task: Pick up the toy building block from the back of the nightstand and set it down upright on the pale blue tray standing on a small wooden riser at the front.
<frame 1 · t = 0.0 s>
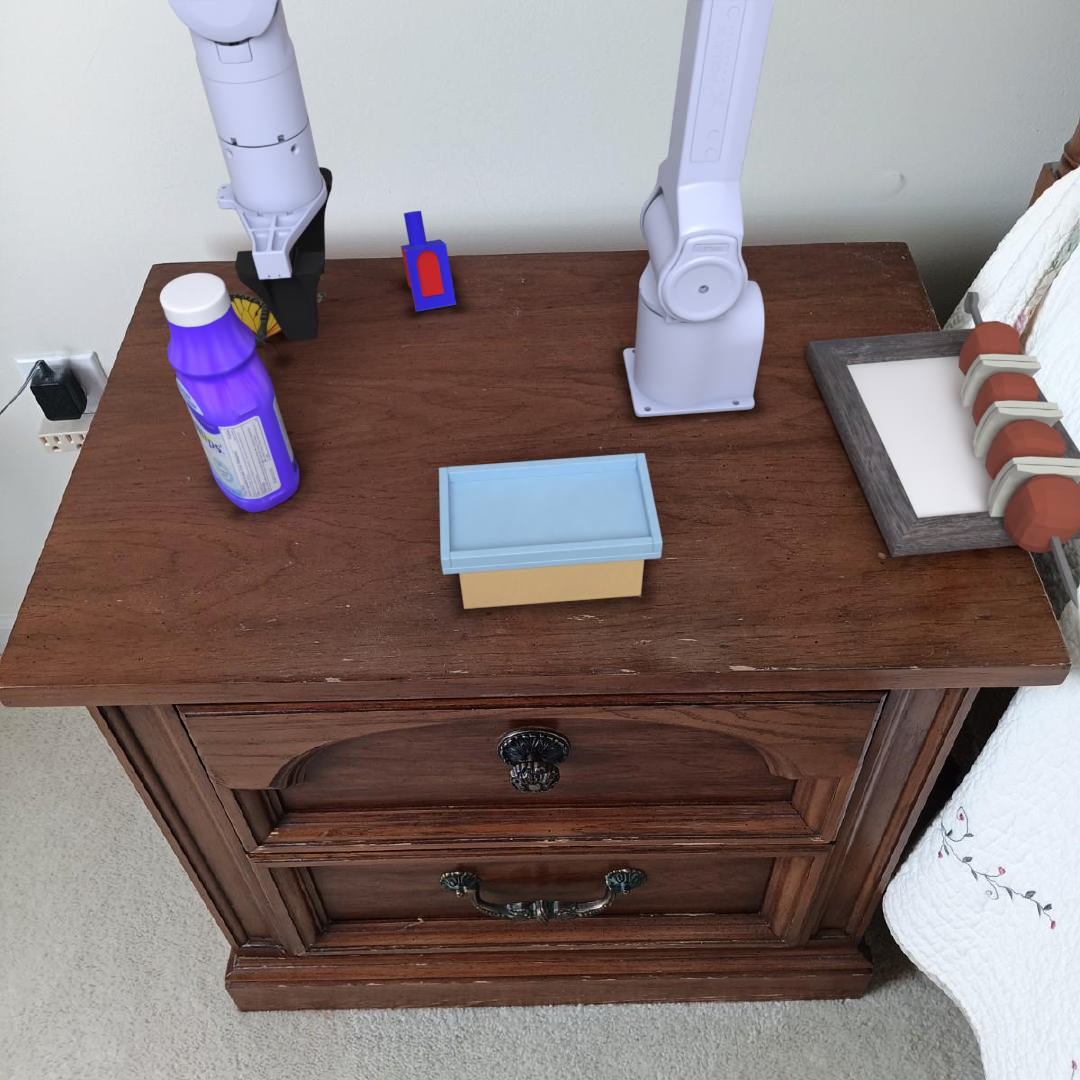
hand: (306, 303, 73), 10 cm above the nightstand, tool pointing down, fingers open, 7 cm apart
picture frame: (901, 341, 82), point 1 cm above the nightstand, touching skewer
toy building block: (430, 292, 90), on the nightstand
butterfly: (267, 349, 86), on the nightstand
bottle: (260, 485, 76), on the nightstand
skewer: (968, 293, 80), point 5 cm above the nightstand, touching picture frame
stand: (547, 513, 66), on the nightstand
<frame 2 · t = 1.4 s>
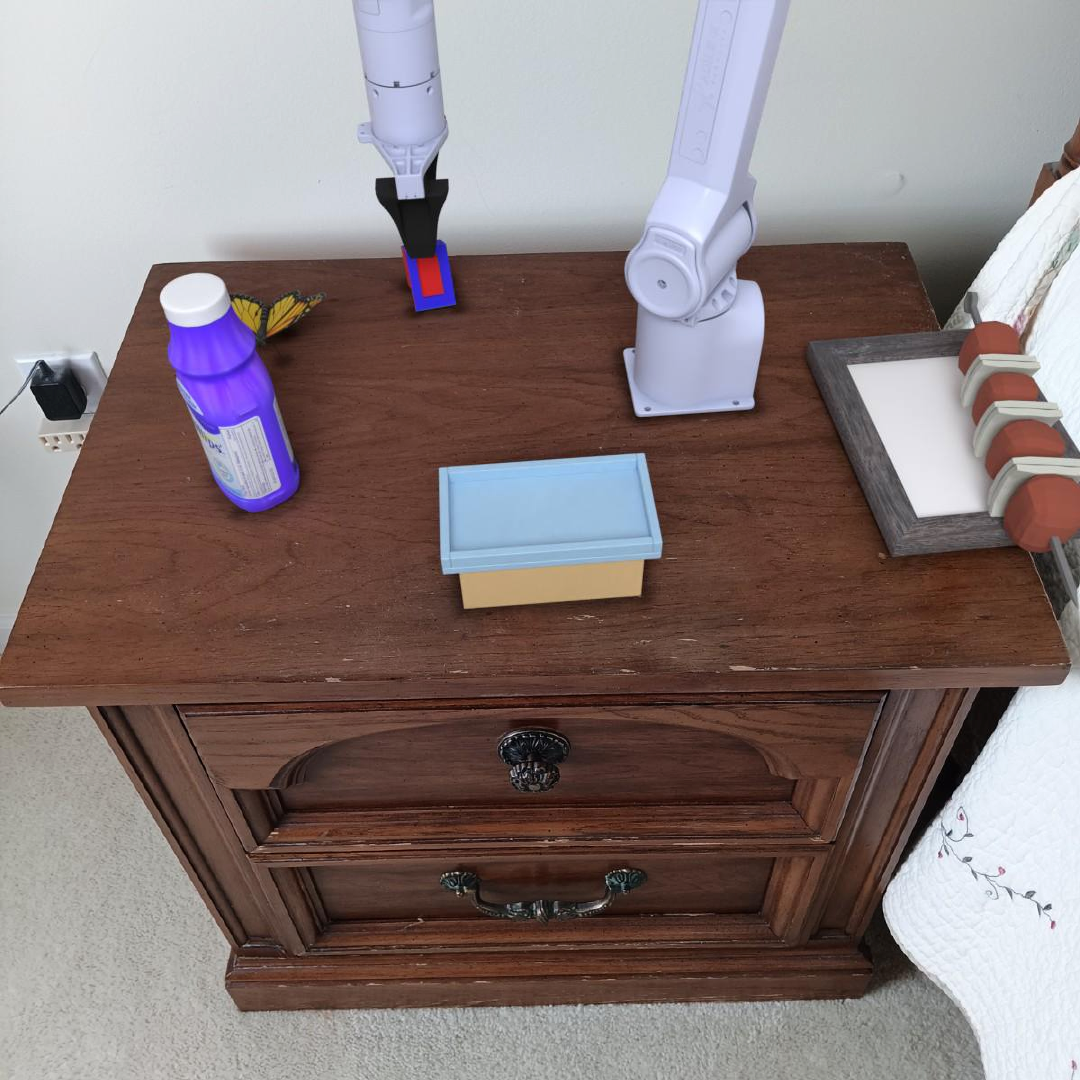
hand: (421, 229, 85), 6 cm above the nightstand, tool pointing down, fingers open, 7 cm apart
nothing on the nightstand moved.
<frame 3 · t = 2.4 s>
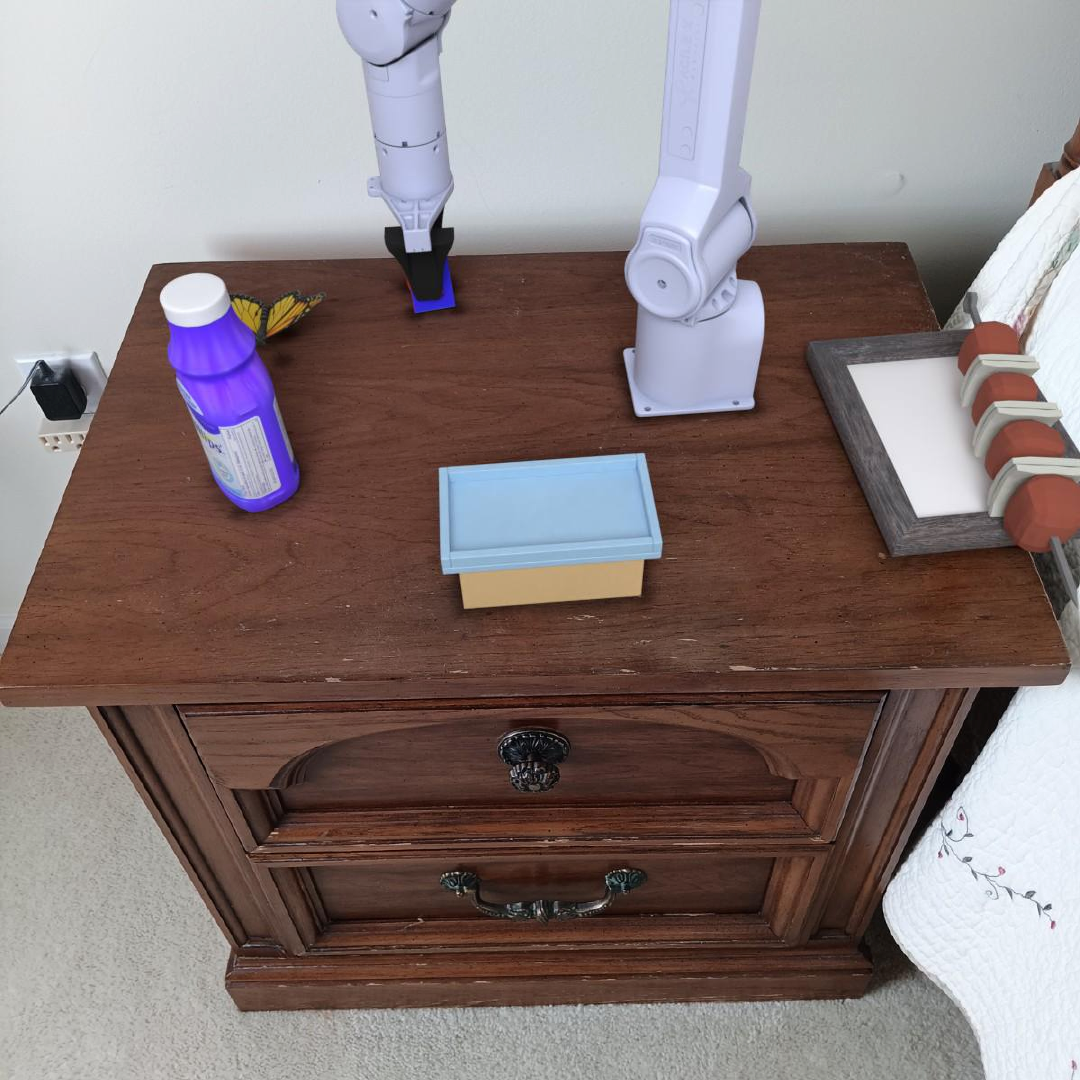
hand: (428, 275, 89), 2 cm above the nightstand, tool pointing down, fingers closed on toy building block, 6 cm apart
toy building block: (429, 293, 90), on the nightstand, touching gripper
everything else where it was.
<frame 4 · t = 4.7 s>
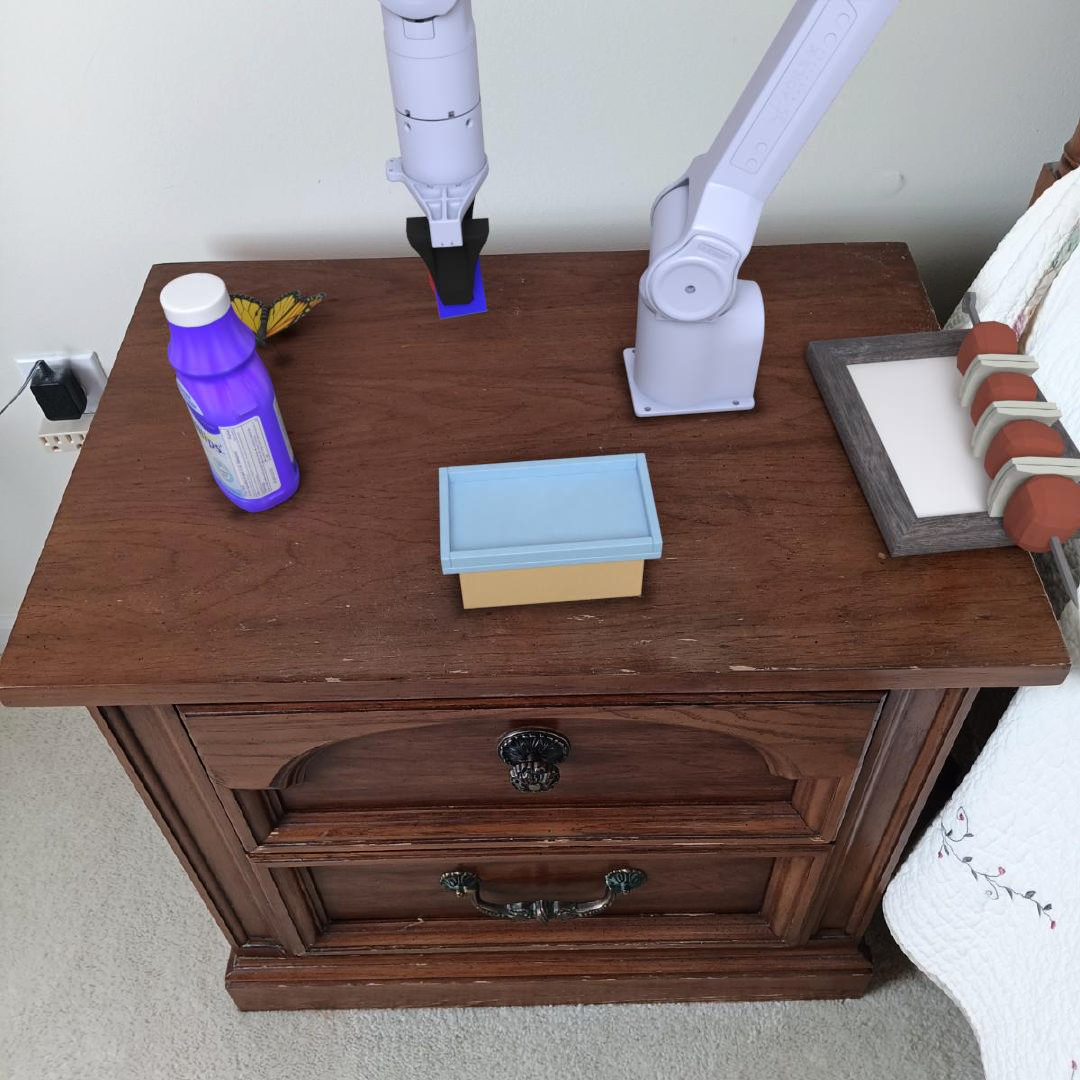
hand: (456, 274, 76), 9 cm above the nightstand, tool pointing down, fingers closed on toy building block, 6 cm apart
toy building block: (456, 296, 77), point 8 cm above the nightstand, touching gripper
everything else where it was.
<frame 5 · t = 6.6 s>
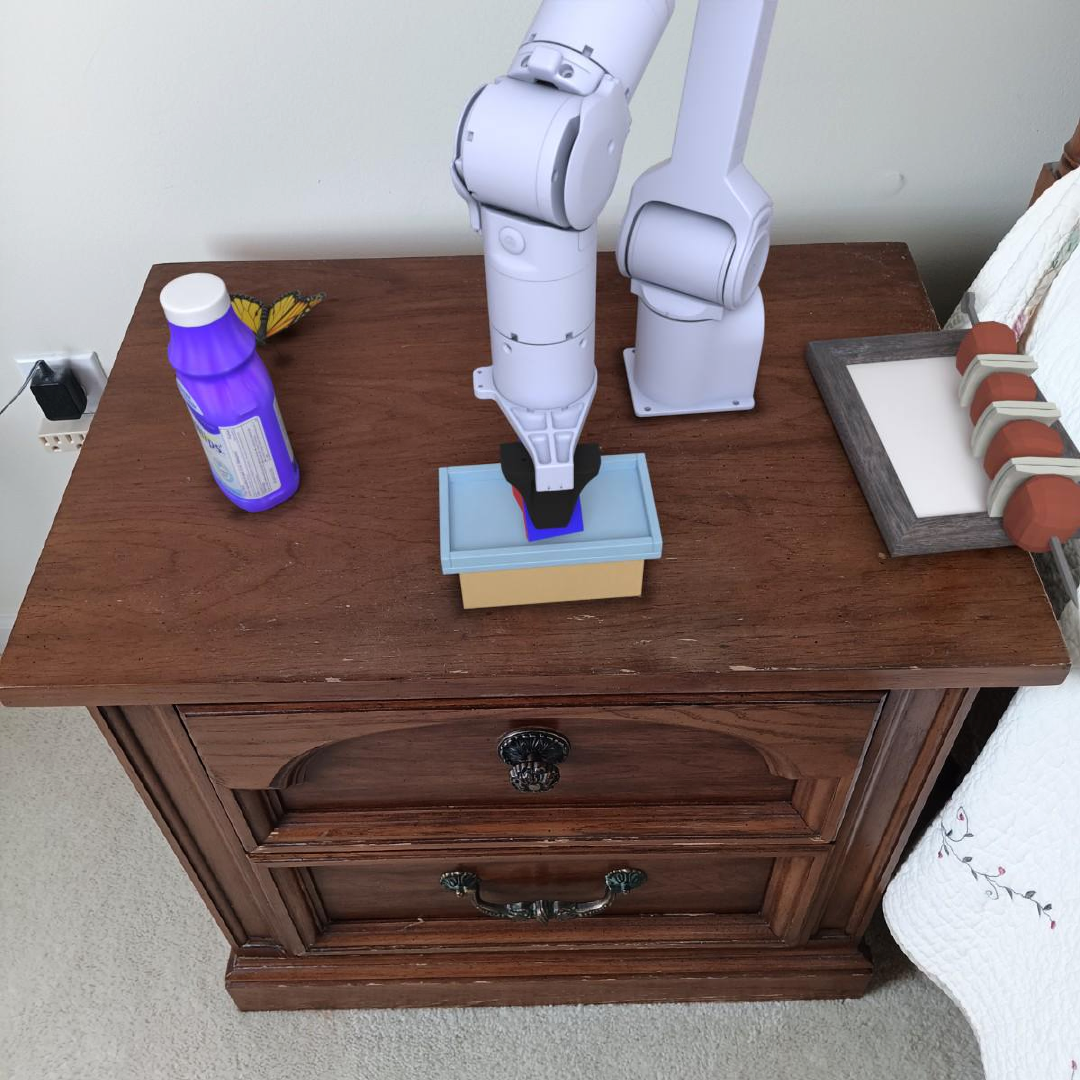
hand: (546, 484, 64), 8 cm above the nightstand, tool pointing down, fingers closed on toy building block, 6 cm apart
toy building block: (544, 506, 65), point 6 cm above the nightstand, touching gripper
everything else where it was.
when the fingers open (8 cm above the nightstand, at t = 7.3 s): toy building block stays where it is, resting on stand.
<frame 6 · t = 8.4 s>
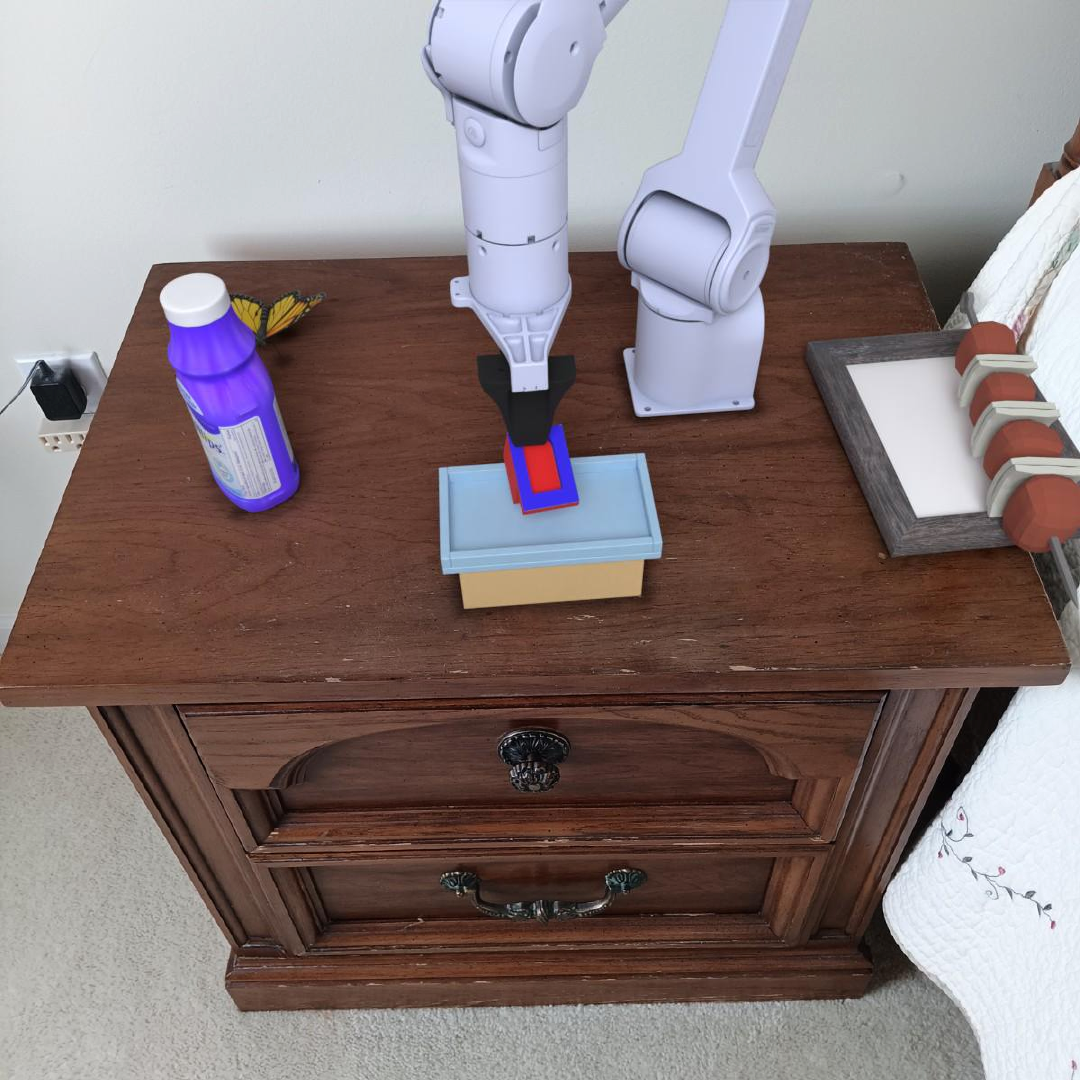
hand: (524, 401, 65), 10 cm above the nightstand, tool pointing down, fingers open, 7 cm apart
toy building block: (543, 506, 65), point 6 cm above the nightstand, touching gripper, stand
everything else where it was.
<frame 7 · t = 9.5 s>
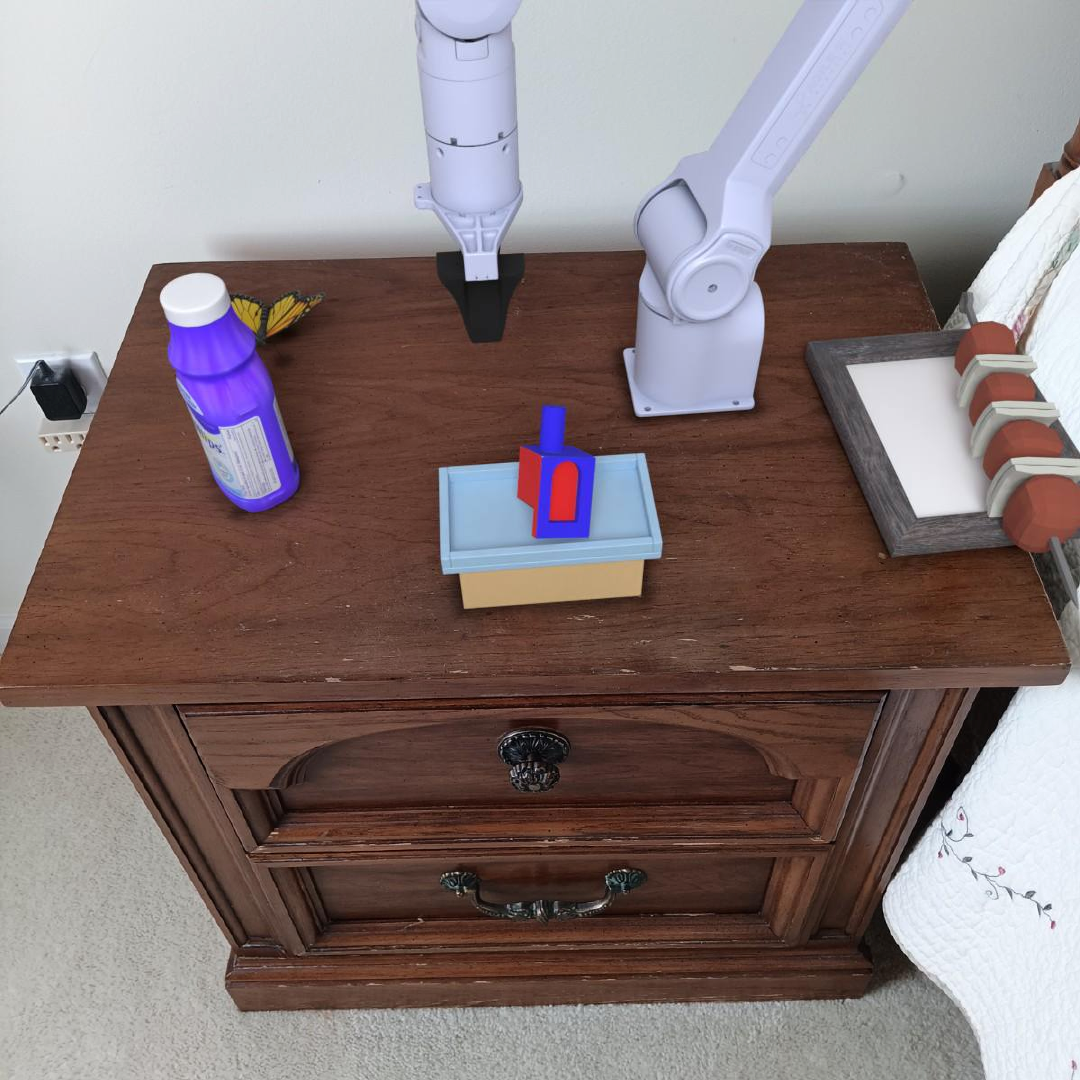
hand: (484, 305, 72), 10 cm above the nightstand, tool pointing down, fingers open, 7 cm apart
toy building block: (547, 513, 66), point 5 cm above the nightstand, touching stand
everything else where it was.
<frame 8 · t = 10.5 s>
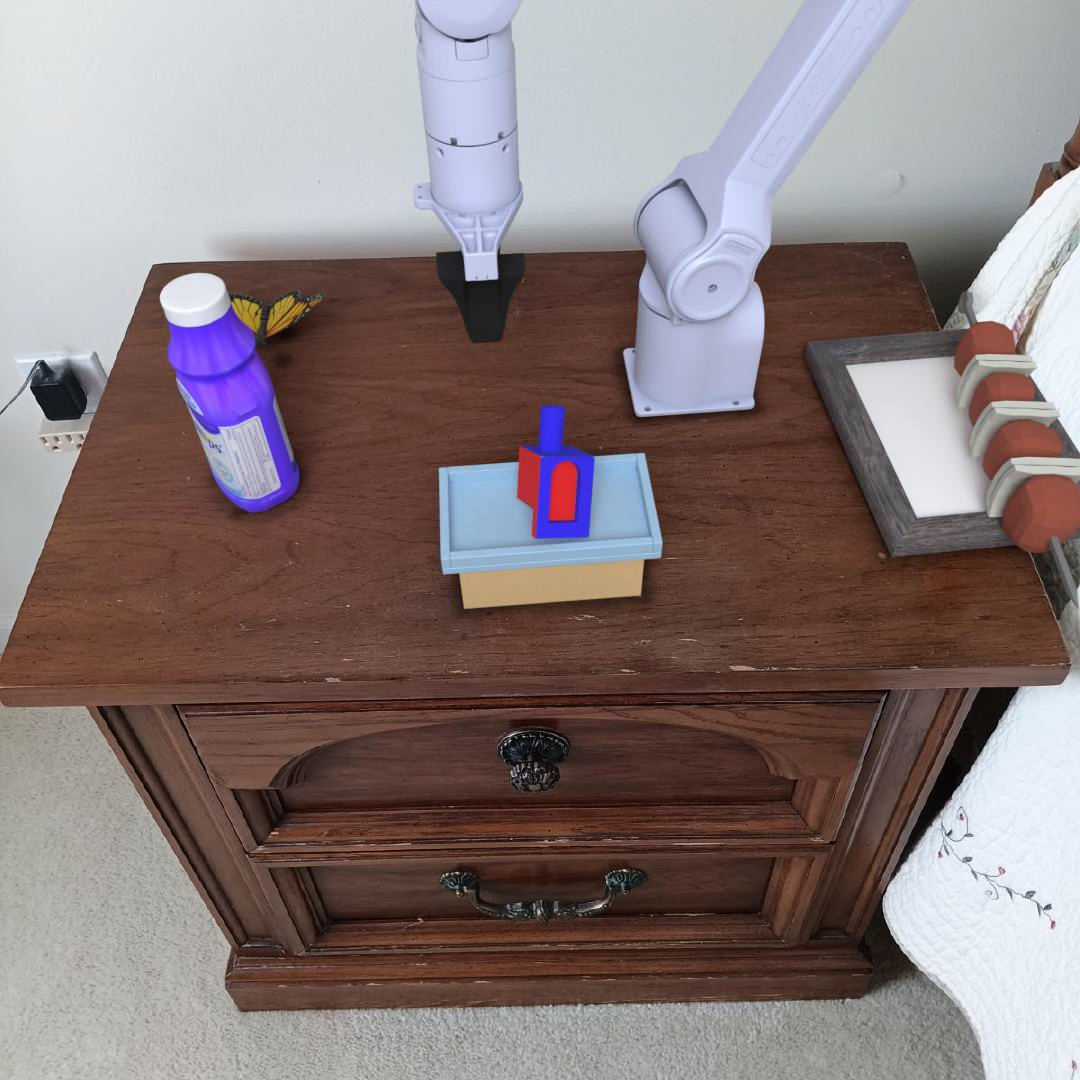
hand: (484, 305, 72), 10 cm above the nightstand, tool pointing down, fingers open, 7 cm apart
nothing on the nightstand moved.
at the end: toy building block inside the target area on the stand (0.3 cm from its centre), point 0.4 cm above the stand's base; toy building block tilted 15°; the gripper is holding nothing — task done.
